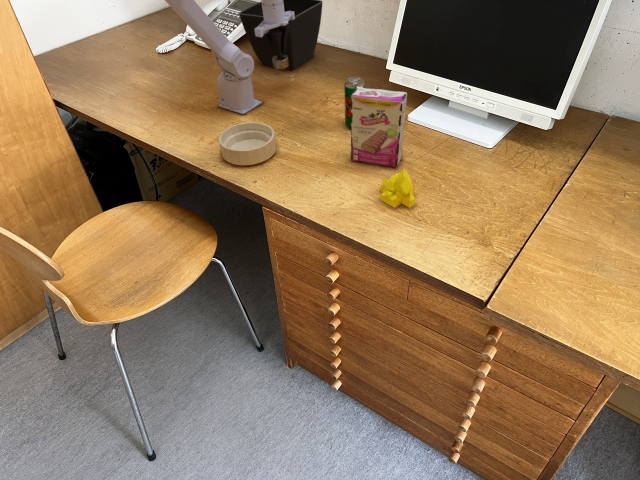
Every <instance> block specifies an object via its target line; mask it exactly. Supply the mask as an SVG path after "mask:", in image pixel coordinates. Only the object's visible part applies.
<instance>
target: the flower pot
mask: <svg viewBox="0 0 640 480" xmlns="http://www.w3.org/2000/svg"><path fill="white" fill-rule="evenodd" d="M283 3H284V11H285V12H287V11H294V15H295V19H294V20H289V21H288V24H287V25H290V31H289V33H288V36H287V40H286V47H285V53H284V54H283V55H287V56H288V64H289V65H288V67H286V68H284V69H283V70H286V71H295V70H296V69H298V68H299V67H300V66H302V65H304V63H306V62H308V61H309V60H310V59H312V58H313V57H314V54H315V51H316V47H317V43H318V39H319V34H320V29H321V20H322V14H323V0H283ZM238 16H239V19H240V22H241V24H242V27H243V30H244V32H245V35H246V38H247V39H248V42H249V44H250V46H251V47H252V50H253V52H254V54H255V56H256V57H257V60H258V61H259V62H260V65H262V66H266V67H269V68H274V67H273V61H272V58H273V57H274V56H275V55H274V54H273V51H272V49H271V46H270V44H269V42H268V41H267V39H266V38H265V36H264V35H263V37H257V36H255V30H254V29H255V28H257V27H258V26H259V25H260V24H261V23H262V22H263V21H264V17H263V10H262V3H261V1H259V2H257V3H255V4H253V5H251V6H249V7H247V8H245V9H243V10H241V11H239V12H238ZM281 54H282V53H281Z"/></svg>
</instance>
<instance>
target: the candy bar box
mask: <svg viewBox="0 0 640 480" xmlns="http://www.w3.org/2000/svg"><path fill="white" fill-rule="evenodd" d="M407 99H408V92H406V91H398V90H389V89H381V88H372V87H366V86H365V87H357V88H356V89H355V91H354V93H353V94H352V96H351V128H350V161H351V162H357V163H363V164H370V165H377V166H382V167H383V166H384V167H388V168H389V167H390V168H398V166H399V164H400V162H401V159H402V158H403V157H402V156H403V146H404V145H403V144H404V132H405V124H406V123H405V122H406V110H407Z"/></svg>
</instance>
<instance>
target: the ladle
mask: <svg viewBox="0 0 640 480" xmlns="http://www.w3.org/2000/svg"><path fill="white" fill-rule="evenodd" d="M276 30H277V31H279V30H278V27H276ZM272 61H273V67H272V68H273V69H276V70H285V69H284V68H286V67H288V65H289V64H288V56H287V55H283V54H281V56H276V55H275V56H274V57H273V58H272Z"/></svg>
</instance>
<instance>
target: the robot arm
mask: <svg viewBox="0 0 640 480" xmlns="http://www.w3.org/2000/svg"><path fill="white" fill-rule="evenodd" d="M164 1H165V3H166V4H167V5H169V7H170V8H171V9H172V10H173V11H174V12H175V13H176V14H177V15H178V16H179V17H180V18H181V19H182V21H183V22H184V23H185V24H186V25H187V26H188V27H189V28H190V29H191V30H192V32H194V33H195V35H196V36H197V37H198V38H199V39H200V40H201V41H202V42H203V43H204V45H206V47H208V49H210V54H211V55H212V56H213V57H214V59H215V62H216V65H217V66H218V68H220V69H221V71H222V72H220V73H219V74H218V76H217V80H216V86H217V87H216V88H217V91H218V96H219V101H220V103H219V104H218V107H219V108H223V109H226V110H229V111H231V112H235V113H237V114H241V115H245V114H247V113H248V112H250V111H252V110H253V109H255V108H256V107H258V106H260V105H261V104H262V103H263V101H261V100H259V99H256V98H255V94H254V93H255V92H254V88H253V82H252V75H253V74H252V73H253V71H254V70H255V61H254V59H253V57H252V56H251V55H250V54H248V53H245V52H243V51H242V50H241V49H240V48H239V47H238V46H237V45H236V44H234V43H233V42H232V41H230V39H229V38H228V37H227V36H226V35H225V34H224V32H223V31H222V30H221V29H220V28H219V26H218V25H216V23H214V21H213V20H212V19H211V18H210V17H209V15H208V14H207V13H206V12H205V11H204V10H203V8H202V7H201V6H200V5H199V4H198V3H197V2H196V0H164ZM260 2H261V3H262V10H263V17H264V21H263V22H262V23H261V24H260V25H259V26H258V27H257V28H255V29H254V30H255V36H257V37H263V35H264V36H265V38H266V39H267V41H268V42H269V44H270V46H271V49H272V51H273V54H274V55H276V56H281V53H282V54H284V53H285V47H286V40H287V36H288V33H289V31H290V25H287V24H288V21H289V20H294V19H295V15H294V11H287V12H285V11H284V3H283V0H260ZM276 27H278V30H279V31H277V30H276Z"/></svg>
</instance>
